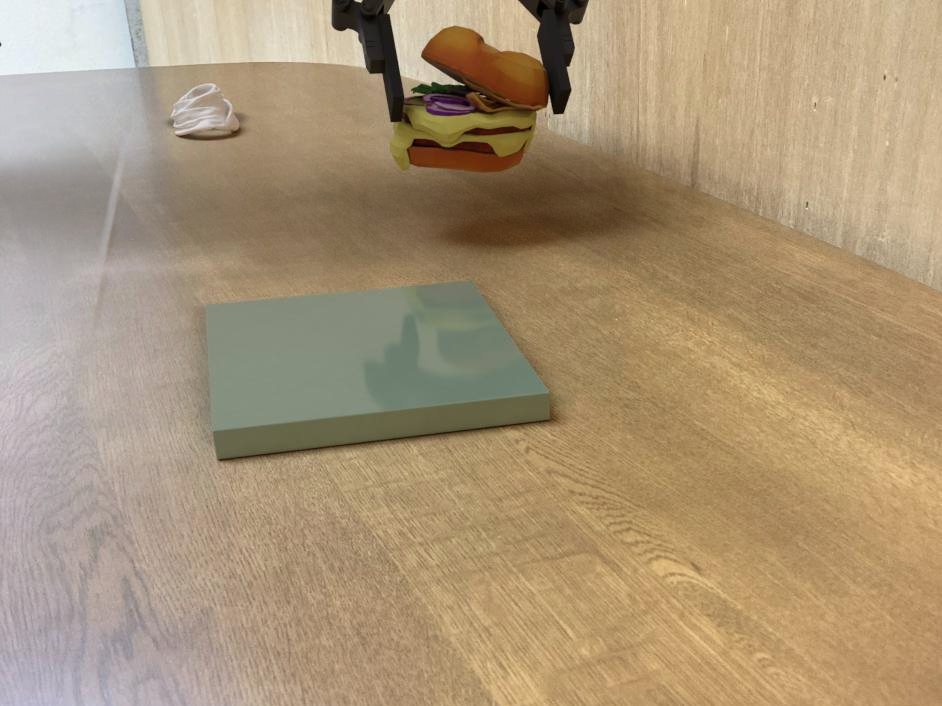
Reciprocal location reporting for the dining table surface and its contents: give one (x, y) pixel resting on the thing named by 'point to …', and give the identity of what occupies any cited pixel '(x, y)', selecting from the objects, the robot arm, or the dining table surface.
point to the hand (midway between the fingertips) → (481, 106)
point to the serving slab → (363, 369)
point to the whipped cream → (203, 111)
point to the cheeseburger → (471, 107)
